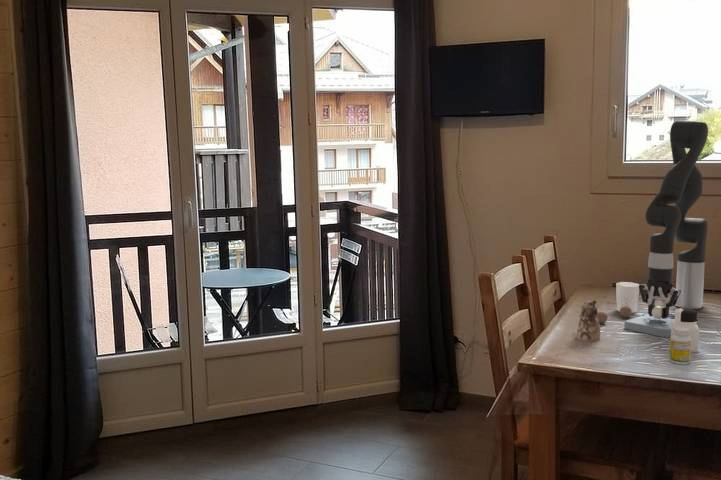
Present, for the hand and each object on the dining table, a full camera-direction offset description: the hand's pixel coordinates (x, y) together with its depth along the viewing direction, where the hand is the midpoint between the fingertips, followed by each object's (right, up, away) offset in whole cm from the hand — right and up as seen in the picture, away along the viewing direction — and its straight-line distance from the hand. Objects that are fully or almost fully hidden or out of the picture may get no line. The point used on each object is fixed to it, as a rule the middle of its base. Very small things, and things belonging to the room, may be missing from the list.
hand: (658, 316), depth 238 cm
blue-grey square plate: (0, -4, +1) cm, 4 cm away
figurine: (-26, -6, -9) cm, 28 cm away
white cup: (-1, -1, +26) cm, 26 cm away
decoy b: (-16, -1, +9) cm, 18 cm away
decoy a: (-5, 0, +16) cm, 17 cm away
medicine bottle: (-1, -7, -21) cm, 22 cm away
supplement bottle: (-8, -9, -34) cm, 37 cm away
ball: (0, +1, 0) cm, 1 cm away
